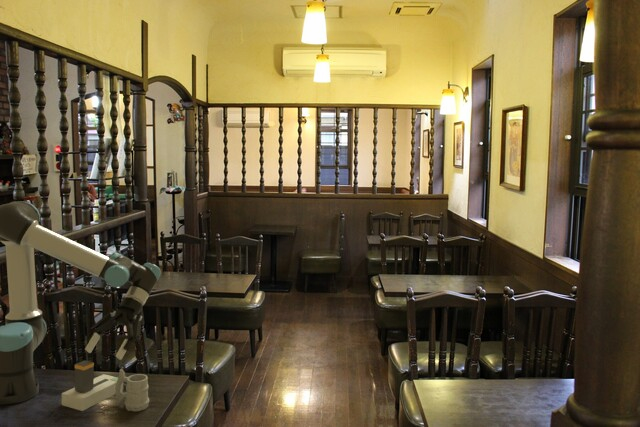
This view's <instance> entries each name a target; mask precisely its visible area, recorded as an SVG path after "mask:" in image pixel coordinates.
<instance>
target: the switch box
mask: <svg viewBox="0 0 640 427" xmlns="http://www.w3.org/2000/svg"><path fill="white" fill-rule="evenodd" d="M117 380H118V376H117V377H116V376H112V375H109V374H104V373H102V374H101V375H99V376H97V377H94V384H93V389H91V390H89V391H87V392H85V393H82V392H78V391H75V387H73V388H70V389H69V390H66V391H64V392H61V406H64V407H68V408H71V409H74V410H77V411H81V412H83V411H85V410H87V409H89V408H91V407H93V406H94V405H97V404H99V403H100V402H103V401H104V400H107V399H108V398H110V397H113V396H114V395H115V393H116V392H115V386H116V383H117ZM121 390H122V391H124V388H123V382H122V384H121Z"/></svg>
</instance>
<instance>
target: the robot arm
mask: <svg viewBox="0 0 640 427" xmlns="http://www.w3.org/2000/svg"><path fill="white" fill-rule="evenodd" d="M40 221H41V214H40V211H39V210H38V208H36V206H35V205H34V204H32V203H30V202H27V201H20V200H17V201H11V202H9V203H5V204H1V205H0V242H1V243H2V244H3V245H5V256H6V271H7V272H6V273H7V285H8V302H9V312H8V313H7V314H6V315H5V318H4V319H5V325H1V326H0V405H2V406H3V405H13V404H17V403H22V402H25V401H28V400H30V399H32V398H35V397H36V395H38V394H39V392H40V390H39V388H40V386H39V385H40V384H39V382H38V379H37V376H36V374H35V372H34V351H35V350H36V349H37V348H38V346H40V344H41V343H42V342H43V341H44V339H45V337H46V333H47V323H46V321H45V320H44V318H43V311H42V310H41V309H39V308H38V300H37V283H36V266H35V265H36V264H35V250H37V251H40V252H42V253H44V254H46V255H48V256H50V257H53V258H55V259H57V260H60V261H62V262H64V263H65V264H69V265H71V266H73V267H75V268H77V269H79V270H82V271H84V272H86V273H88V274H90V275H92V276H95V277H97V278H99V279H102V280H104V281H105V283H106V284H107V285H108V286H110V287H112V288H120V287H122V286H124V285H125V284H126V283H127V282H128V283H130V284H131V285H130V287H129V289H128V290H127V292H126V294H125V295H124V297H123V299H122V301H121V302H120V304H119V306H118V310H114V309H113V308H110V309H109V310H108V312H107V313H106V314H105V315H104V316H103V317H102V318H101V319H99V320H98V321H97V322H96V323H94V324H93V325H92V326H91V327H90V330H91V331H92V332H93V333H92V334H91V335H90V338H89V339H88V341H89V342H88V343H87V345H86V346H85V348H84V350H85V351H87V353H88V354H91V353H92V351H93V350H94V349H95V346H96V345H97V344H98V341H99V340H100V338H101V335H102V334H104V333H105V332H106V331H108V330H110V329H111V328H113V327H114V326H118V325H119V326H124V327H125V329H126V334H127V337H126V338H125V339H124V340H123V342H122V344H121V346H120V347H119V349H118V351H116V352H117V353H116V355H115V357H116V358H117V359H118V360H120V361H122V360H123V358H124V356H125V354H126V352H127V351H129V350H130V348H131V346H132V344H133V343H135V342H136V343H139V342H140V339H141V332H142V331H141V330H142V322H143V320H144V317H143V316H142V315H141V314H140V312H141V311H142V309H143V306H144V305H145V304H146V302H147V300H148V298H149V296H150V295H151V293H152V291H153V290H154V288H155V287H156V285H157V283H158V281H159V279H160V277H161V275H162V270H161V269H160V267H159V266H157V265H156V264H154V263H151V262H146V263H144V264H143V265H141V264H139V263H138V262H136V261H134V260H132V259H131V258H129V257H127V256H125V255H124V254H121V253H119V252H116V251H114V252H112V253H111V254H110V256H107V255H104V254H102V253H101V252H99V251H96V250H94V249H91V248H89V247H88V246H86V245H83V244H81V243H79V242H77V241H74V240H72V239H70V238H69V237H66V236H64V235H63V234H60V233H57V232H55V231H53V230H51V229H49V228H47V227H44V226H43V225H40ZM133 322H134V325H133ZM133 326H134V327H133Z"/></svg>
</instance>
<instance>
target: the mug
mask: <svg viewBox="0 0 640 427" xmlns="http://www.w3.org/2000/svg"><path fill="white" fill-rule="evenodd" d="M117 378H118V380H117V383H116V386H115V392H116V393H115V394H114V395H115V397H116V399H117V401H118V402H121V401H122V400H123V399H125V400H124V406H125V409H126V411H129V412H140V411H144V410H146V409H147V408H148V407H149V403H150V397H149V382H148V379H149V377H148V375H146V374H143V373H142V374H141V373H137V374H132V375H129V376H126V372H125V370H124V369H123V368H121V369H119V374H118V376H117ZM123 381H127V386H126V389H125V392H123V390H121V384H122V382H123Z"/></svg>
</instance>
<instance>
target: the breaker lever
mask: <svg viewBox="0 0 640 427" xmlns="http://www.w3.org/2000/svg"><path fill="white" fill-rule="evenodd" d="M94 366H95V362H94V361H89V360H82V361H80V362H77V363H75V364H74V388H75V391H78V392H82V393H85V392H87V391H89V390H91V389H93V384H94V378H95V376H94V374H95V373H94V368H95V367H94Z"/></svg>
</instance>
